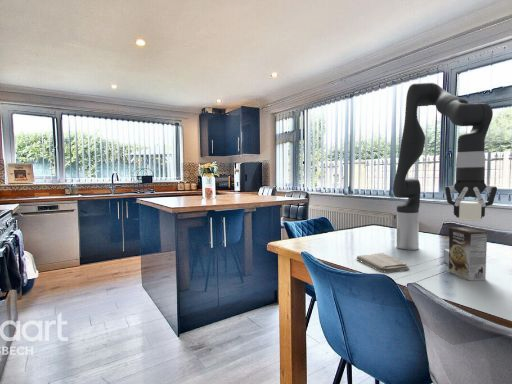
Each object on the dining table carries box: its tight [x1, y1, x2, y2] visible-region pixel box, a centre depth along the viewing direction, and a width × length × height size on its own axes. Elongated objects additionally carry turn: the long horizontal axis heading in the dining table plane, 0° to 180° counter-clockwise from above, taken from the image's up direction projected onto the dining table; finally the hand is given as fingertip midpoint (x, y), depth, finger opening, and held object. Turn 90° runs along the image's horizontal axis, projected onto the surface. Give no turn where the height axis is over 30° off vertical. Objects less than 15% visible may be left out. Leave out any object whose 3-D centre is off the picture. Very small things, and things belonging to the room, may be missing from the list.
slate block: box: [443, 248, 449, 265], centre depth 111 cm, size 5×5×5 cm
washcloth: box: [356, 252, 410, 273], centre depth 112 cm, size 12×18×3 cm, turn 13°
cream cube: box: [456, 201, 482, 222], centre depth 94 cm, size 6×6×6 cm
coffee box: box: [448, 226, 488, 281], centre depth 97 cm, size 9×6×16 cm
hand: (468, 217), depth 94 cm, fingers closed on cream cube, 5 cm apart
